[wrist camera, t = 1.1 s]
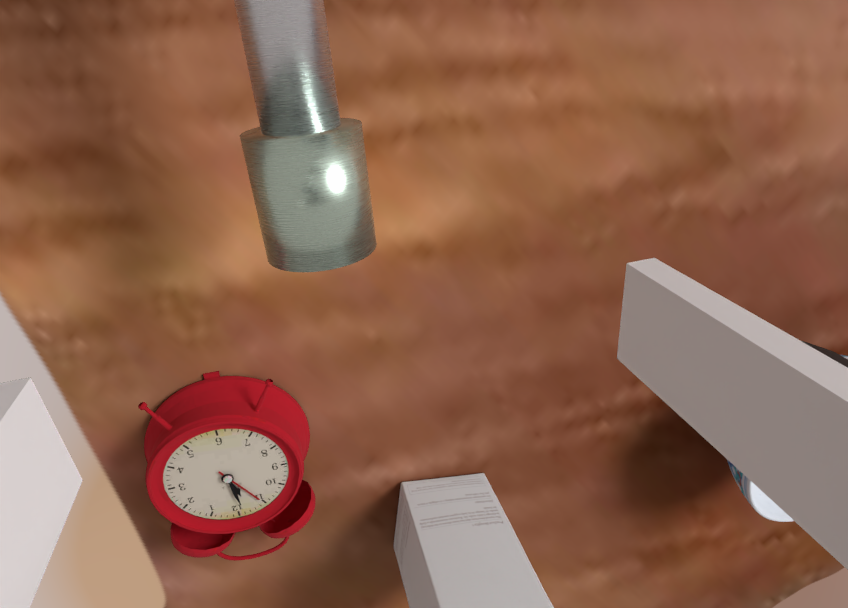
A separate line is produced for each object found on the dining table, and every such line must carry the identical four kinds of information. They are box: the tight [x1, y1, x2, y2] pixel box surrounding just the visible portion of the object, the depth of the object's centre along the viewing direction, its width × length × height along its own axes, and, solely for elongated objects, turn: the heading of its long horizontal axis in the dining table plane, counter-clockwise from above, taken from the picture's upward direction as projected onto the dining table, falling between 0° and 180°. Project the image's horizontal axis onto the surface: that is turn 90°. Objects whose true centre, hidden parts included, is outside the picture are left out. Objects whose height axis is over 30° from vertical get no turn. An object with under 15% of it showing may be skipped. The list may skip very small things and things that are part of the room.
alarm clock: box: [138, 371, 315, 560], centre depth 36 cm, size 10×6×15 cm
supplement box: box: [394, 473, 554, 608], centre depth 39 cm, size 7×7×13 cm
